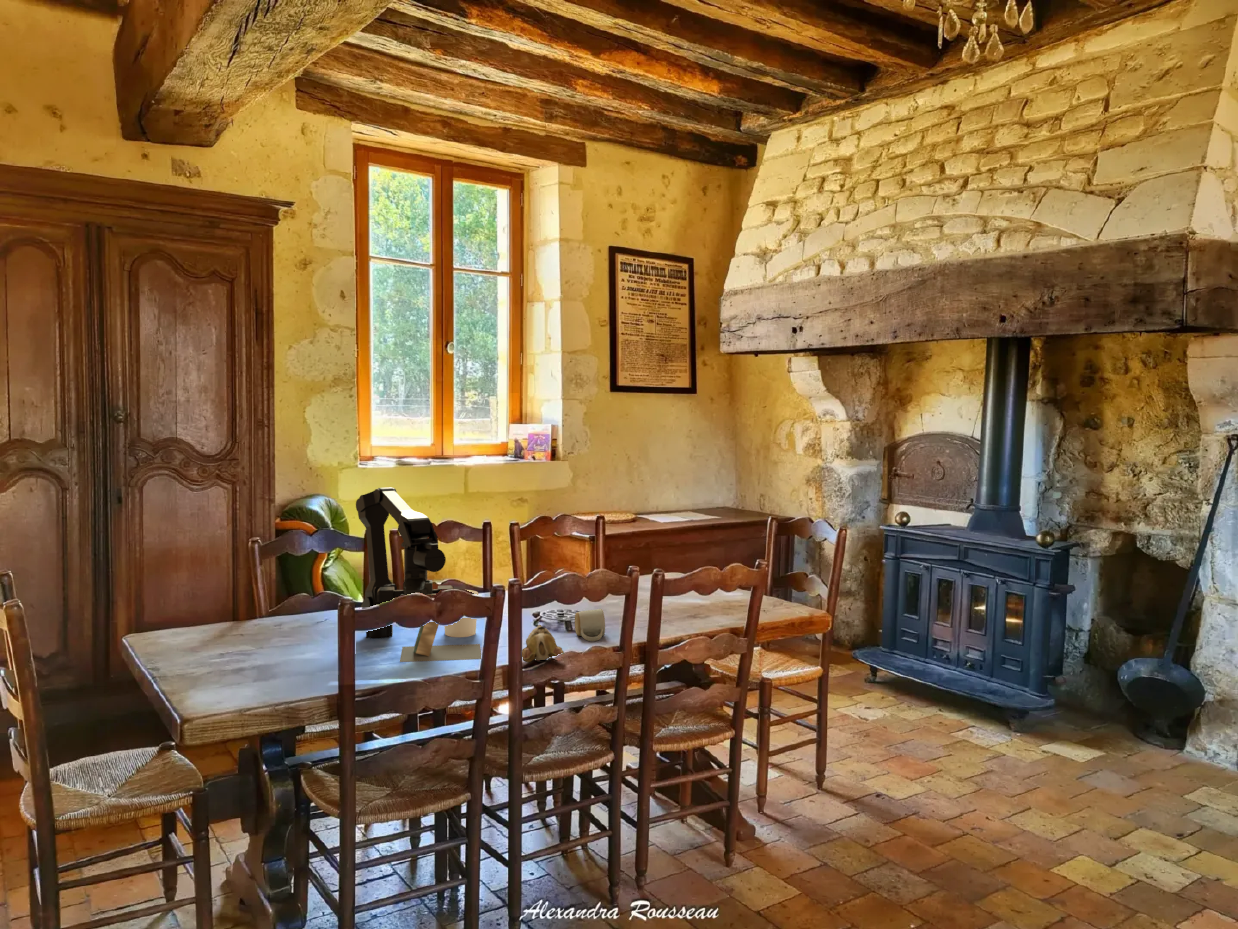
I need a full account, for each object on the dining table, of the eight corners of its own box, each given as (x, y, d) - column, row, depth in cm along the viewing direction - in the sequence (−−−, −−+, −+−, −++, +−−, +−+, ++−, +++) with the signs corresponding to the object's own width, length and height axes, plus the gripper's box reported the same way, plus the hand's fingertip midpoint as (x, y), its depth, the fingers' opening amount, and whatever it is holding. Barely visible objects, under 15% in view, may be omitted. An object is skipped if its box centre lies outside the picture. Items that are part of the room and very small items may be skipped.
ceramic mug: (573, 632, 254) (573, 607, 253) (600, 631, 255) (601, 606, 255) (579, 643, 244) (580, 616, 243) (608, 641, 245) (608, 615, 245)
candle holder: (482, 632, 253) (482, 590, 252) (473, 641, 243) (473, 597, 242) (448, 631, 254) (448, 589, 253) (437, 640, 244) (437, 596, 243)
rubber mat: (399, 665, 220) (399, 662, 220) (402, 649, 234) (402, 646, 234) (481, 662, 224) (481, 658, 224) (480, 647, 237) (480, 644, 237)
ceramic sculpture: (560, 617, 234) (565, 636, 220) (559, 649, 235) (565, 670, 221) (519, 619, 233) (521, 637, 218) (519, 651, 234) (521, 672, 219)
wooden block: (413, 652, 224) (425, 614, 224) (414, 646, 230) (425, 609, 230) (429, 656, 225) (440, 618, 225) (429, 649, 231) (440, 612, 231)
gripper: (374, 572, 216) (374, 636, 217) (453, 571, 220) (453, 634, 221) (378, 564, 227) (378, 625, 228) (453, 563, 231) (453, 623, 231)
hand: (415, 627), depth 227 cm, fingers closed
